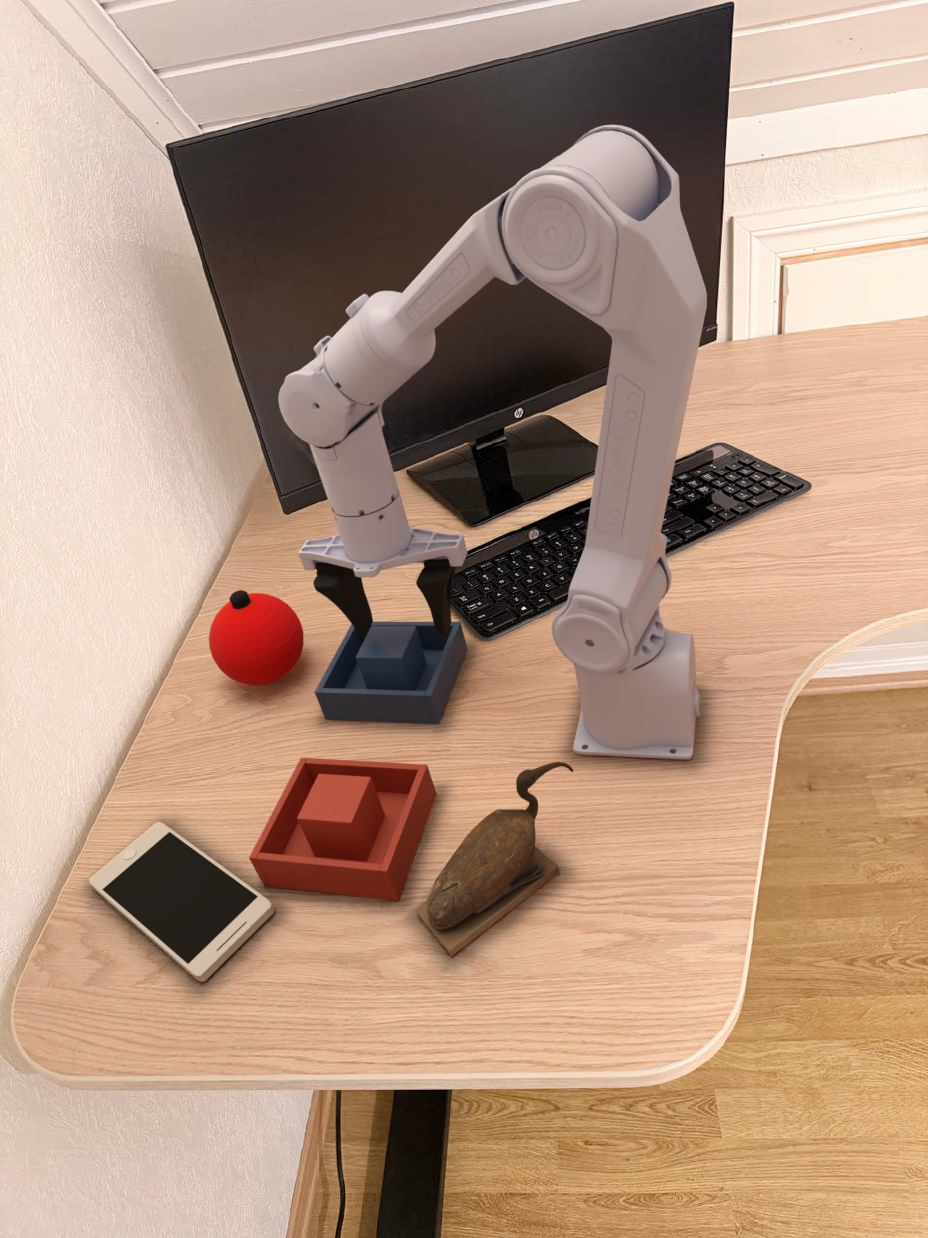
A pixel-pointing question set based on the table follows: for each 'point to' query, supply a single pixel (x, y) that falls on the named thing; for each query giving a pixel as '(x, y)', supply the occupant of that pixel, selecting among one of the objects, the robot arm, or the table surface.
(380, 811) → the red block
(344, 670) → the blue bin
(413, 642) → the blue block
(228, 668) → the ornament
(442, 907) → the figurine
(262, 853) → the red bin
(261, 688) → the table surface
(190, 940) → the smartphone
